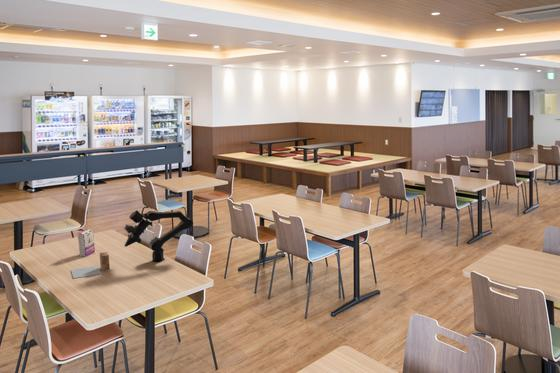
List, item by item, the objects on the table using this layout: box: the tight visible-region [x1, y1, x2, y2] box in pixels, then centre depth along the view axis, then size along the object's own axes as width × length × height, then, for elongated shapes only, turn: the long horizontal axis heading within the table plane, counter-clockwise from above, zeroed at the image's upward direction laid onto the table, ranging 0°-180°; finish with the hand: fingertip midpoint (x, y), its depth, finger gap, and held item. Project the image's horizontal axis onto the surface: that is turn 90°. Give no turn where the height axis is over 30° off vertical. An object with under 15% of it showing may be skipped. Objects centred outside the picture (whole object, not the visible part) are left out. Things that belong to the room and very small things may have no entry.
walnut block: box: [99, 251, 111, 272], centre depth 307 cm, size 4×7×10 cm, turn 28°
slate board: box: [70, 265, 102, 279], centre depth 302 cm, size 16×16×1 cm
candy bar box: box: [77, 229, 96, 258], centre depth 336 cm, size 11×5×16 cm, turn 168°
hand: (125, 246), depth 311 cm, fingers closed
